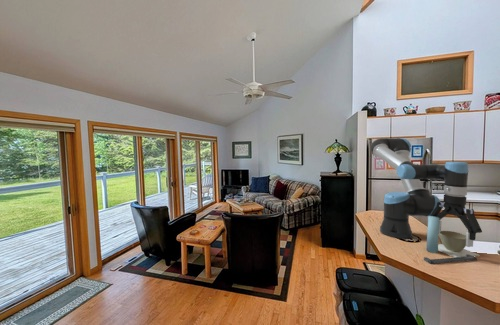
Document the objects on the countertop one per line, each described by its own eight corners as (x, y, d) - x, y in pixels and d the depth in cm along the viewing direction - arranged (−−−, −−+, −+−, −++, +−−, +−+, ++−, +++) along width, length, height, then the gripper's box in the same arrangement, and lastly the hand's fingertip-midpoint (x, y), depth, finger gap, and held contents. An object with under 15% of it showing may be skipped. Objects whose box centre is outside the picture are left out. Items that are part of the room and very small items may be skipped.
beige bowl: (432, 244, 103) (433, 230, 102) (453, 245, 102) (454, 230, 102) (451, 254, 93) (452, 238, 92) (475, 254, 92) (475, 239, 92)
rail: (423, 260, 89) (423, 257, 89) (468, 256, 92) (468, 254, 92) (430, 263, 86) (430, 261, 86) (476, 260, 89) (476, 257, 89)
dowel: (424, 249, 99) (425, 216, 98) (431, 249, 100) (432, 215, 99) (432, 253, 95) (434, 218, 94) (440, 252, 96) (442, 218, 95)
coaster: (429, 246, 103) (429, 244, 103) (450, 244, 104) (450, 243, 104) (456, 258, 91) (456, 256, 91) (479, 256, 92) (479, 255, 92)
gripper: (422, 190, 108) (420, 229, 110) (480, 201, 84) (477, 253, 85) (435, 189, 109) (433, 229, 111) (496, 201, 85) (493, 252, 86)
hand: (452, 239), depth 98 cm, fingers open, 13 cm apart
